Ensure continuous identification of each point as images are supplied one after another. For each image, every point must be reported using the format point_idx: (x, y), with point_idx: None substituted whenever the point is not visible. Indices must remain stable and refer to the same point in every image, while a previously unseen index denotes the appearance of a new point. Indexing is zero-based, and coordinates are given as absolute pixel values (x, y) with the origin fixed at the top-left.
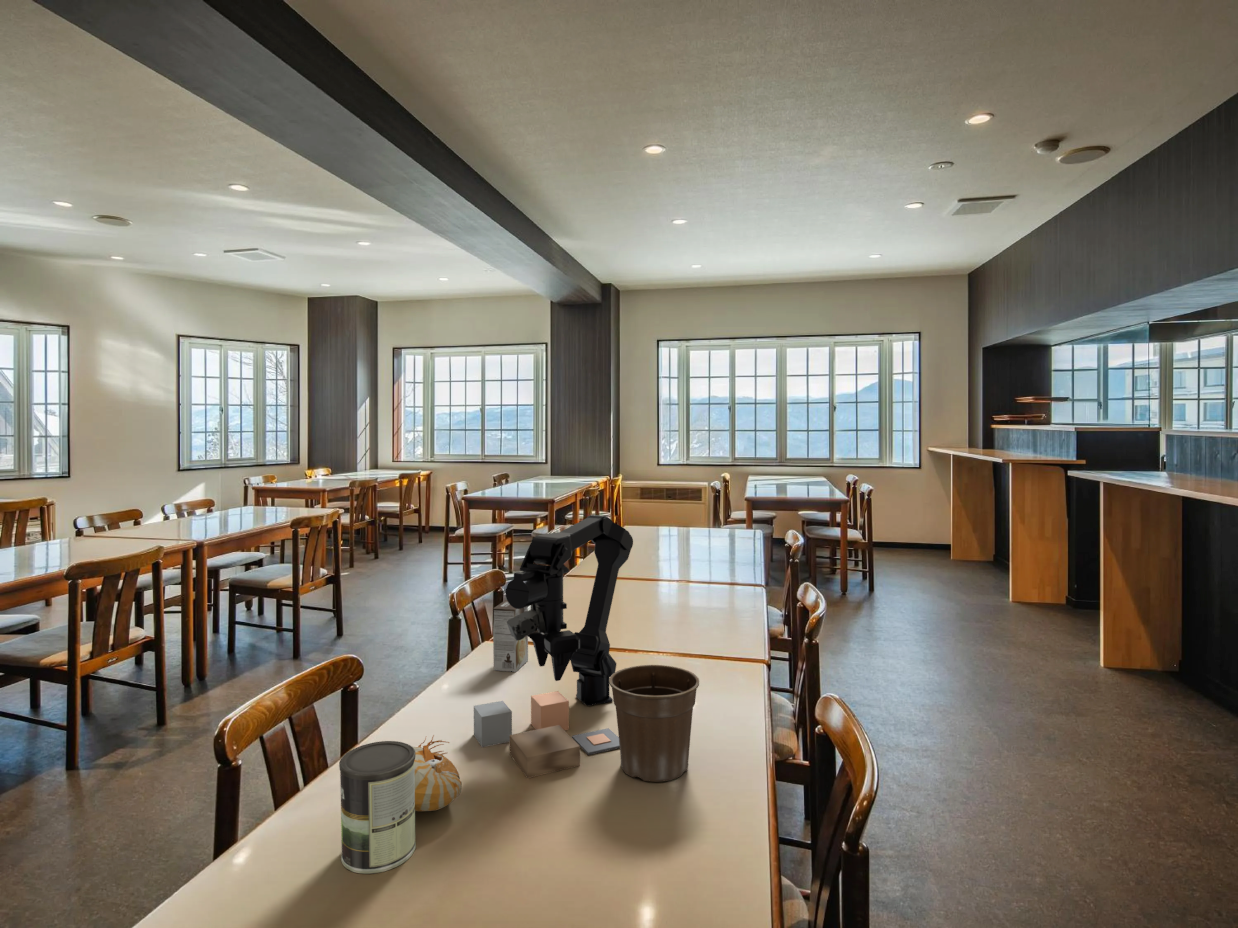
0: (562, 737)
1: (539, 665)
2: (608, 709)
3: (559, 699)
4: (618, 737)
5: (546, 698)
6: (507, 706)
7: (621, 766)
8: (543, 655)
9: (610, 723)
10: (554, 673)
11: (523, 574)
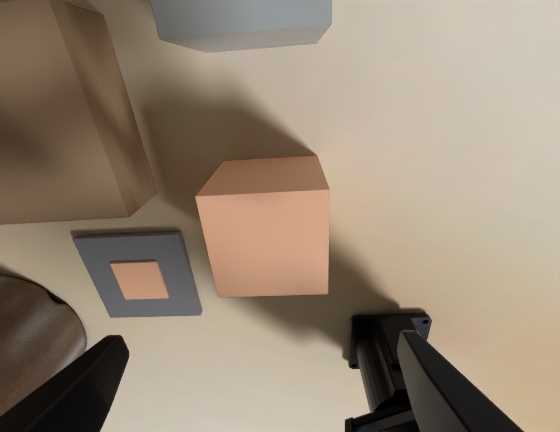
0: (29, 198)
1: (406, 332)
2: (313, 343)
3: (242, 275)
4: (146, 315)
5: (270, 238)
6: (236, 31)
7: (2, 276)
8: (432, 426)
9: (237, 324)
10: (56, 376)
11: None
